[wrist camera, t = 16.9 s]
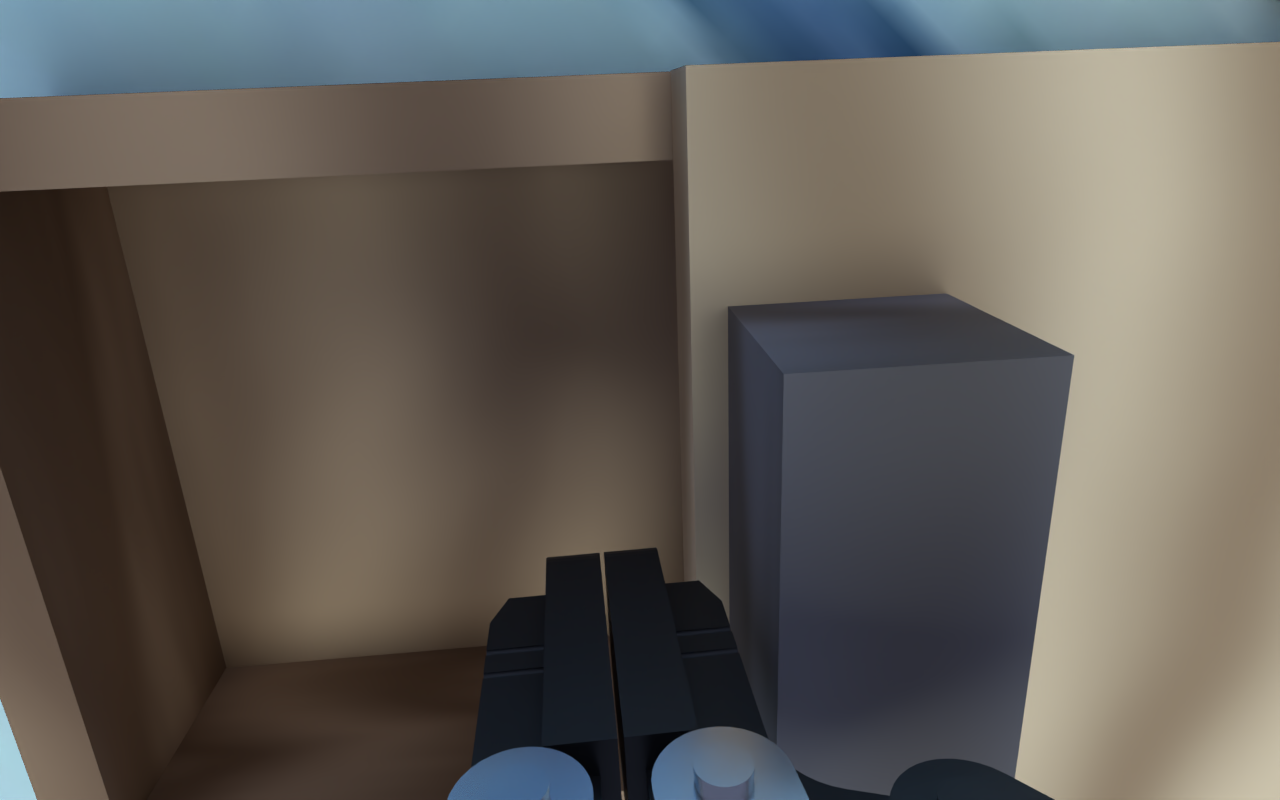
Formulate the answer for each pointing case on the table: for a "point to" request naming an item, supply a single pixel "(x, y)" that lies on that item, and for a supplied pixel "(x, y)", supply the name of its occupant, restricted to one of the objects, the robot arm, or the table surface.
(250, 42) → the table surface
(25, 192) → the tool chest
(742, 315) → the beige cabinet door
